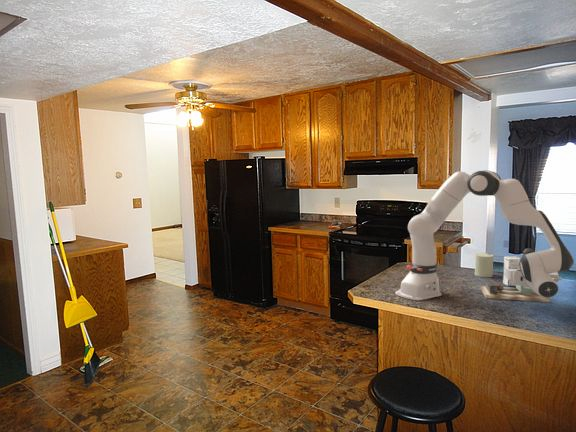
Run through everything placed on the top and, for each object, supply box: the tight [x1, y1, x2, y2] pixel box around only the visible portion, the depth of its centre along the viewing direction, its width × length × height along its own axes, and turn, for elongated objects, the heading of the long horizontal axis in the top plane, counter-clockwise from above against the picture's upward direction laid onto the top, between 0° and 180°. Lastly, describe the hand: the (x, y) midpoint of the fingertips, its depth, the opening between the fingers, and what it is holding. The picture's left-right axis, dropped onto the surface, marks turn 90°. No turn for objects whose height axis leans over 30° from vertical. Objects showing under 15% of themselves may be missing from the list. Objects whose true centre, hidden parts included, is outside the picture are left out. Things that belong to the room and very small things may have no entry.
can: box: [474, 252, 494, 278], centre depth 220 cm, size 9×9×12 cm
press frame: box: [480, 279, 551, 303], centre depth 185 cm, size 26×14×6 cm, turn 73°
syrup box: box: [502, 255, 521, 287], centre depth 200 cm, size 6×6×14 cm
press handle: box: [515, 247, 535, 293], centre depth 182 cm, size 6×8×20 cm
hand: (526, 270), depth 183 cm, fingers closed on press handle, 3 cm apart
